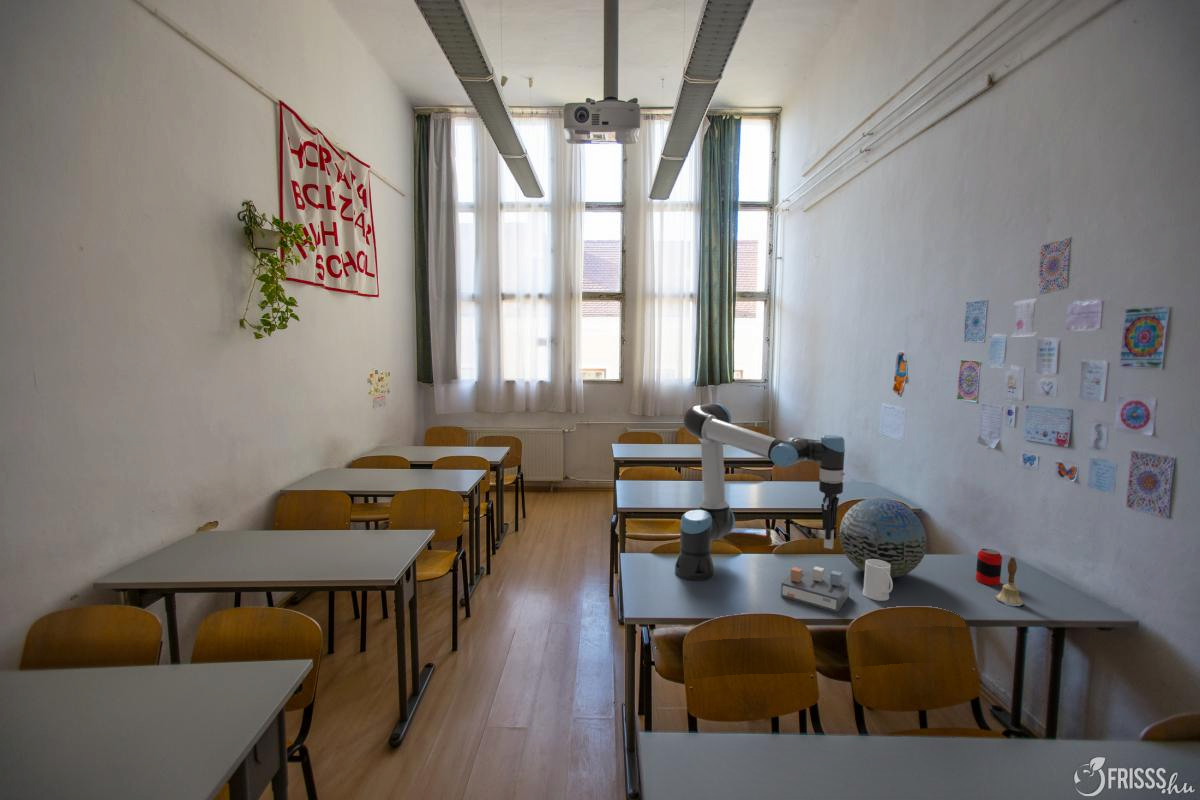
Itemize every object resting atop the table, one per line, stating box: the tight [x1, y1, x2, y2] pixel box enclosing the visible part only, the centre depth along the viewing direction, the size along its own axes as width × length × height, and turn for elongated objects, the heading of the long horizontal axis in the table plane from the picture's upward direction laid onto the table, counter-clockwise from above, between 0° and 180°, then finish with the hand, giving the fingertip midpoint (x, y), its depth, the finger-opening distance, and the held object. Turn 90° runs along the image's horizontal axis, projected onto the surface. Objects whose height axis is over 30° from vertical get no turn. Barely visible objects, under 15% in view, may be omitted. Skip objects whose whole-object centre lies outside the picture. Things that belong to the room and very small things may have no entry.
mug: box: [862, 559, 894, 602], centre depth 197 cm, size 12×8×12 cm
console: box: [780, 570, 850, 613], centre depth 197 cm, size 19×16×5 cm
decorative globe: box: [839, 497, 927, 579], centre depth 216 cm, size 30×30×30 cm
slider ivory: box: [812, 566, 825, 582], centre depth 199 cm, size 3×3×4 cm
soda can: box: [975, 548, 1003, 586], centre depth 212 cm, size 8×8×12 cm
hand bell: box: [995, 556, 1024, 604], centre depth 195 cm, size 8×8×16 cm
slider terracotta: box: [790, 566, 803, 583], centre depth 199 cm, size 3×3×4 cm
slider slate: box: [829, 570, 843, 586], centre depth 196 cm, size 3×3×4 cm
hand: (828, 547), depth 194 cm, fingers closed
